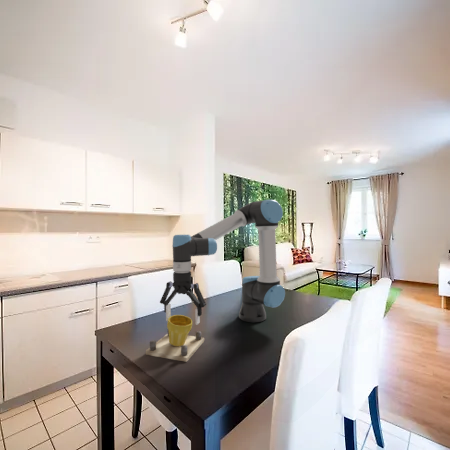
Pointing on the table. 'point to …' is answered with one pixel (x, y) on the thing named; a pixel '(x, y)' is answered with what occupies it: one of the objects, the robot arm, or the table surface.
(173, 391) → the table surface
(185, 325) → the plant pot
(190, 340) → the stub plate
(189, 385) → the table surface
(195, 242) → the robot arm
